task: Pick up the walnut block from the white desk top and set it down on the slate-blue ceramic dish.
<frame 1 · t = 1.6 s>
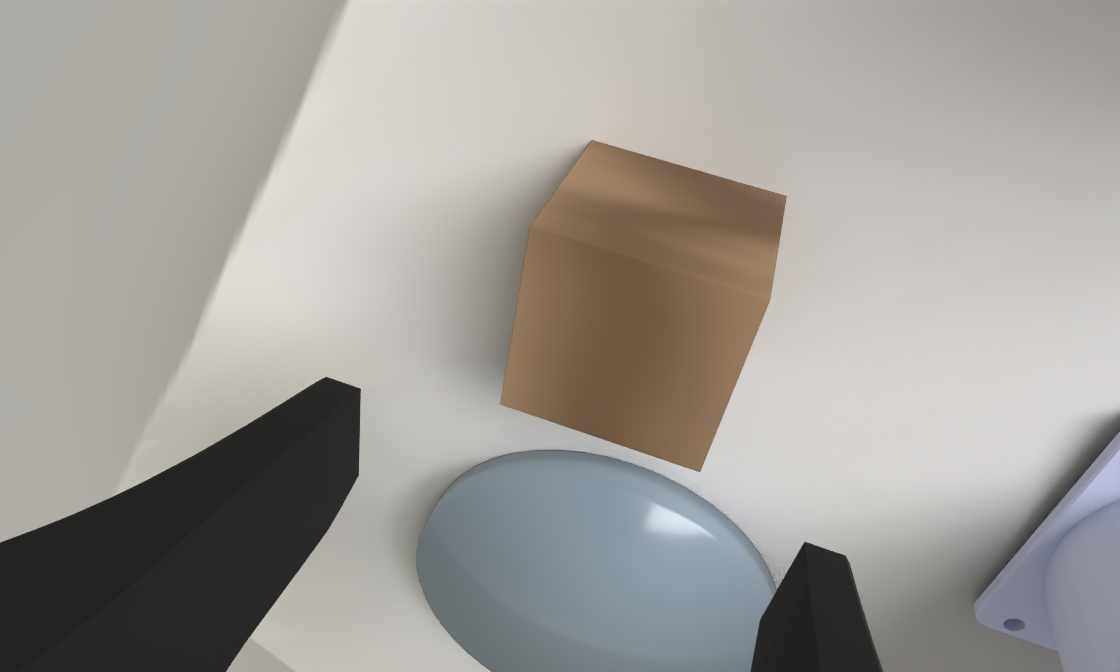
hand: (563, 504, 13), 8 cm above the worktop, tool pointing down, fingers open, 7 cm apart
slate dish: (595, 585, 27), on the worktop
walnut block: (663, 250, 19), on the worktop
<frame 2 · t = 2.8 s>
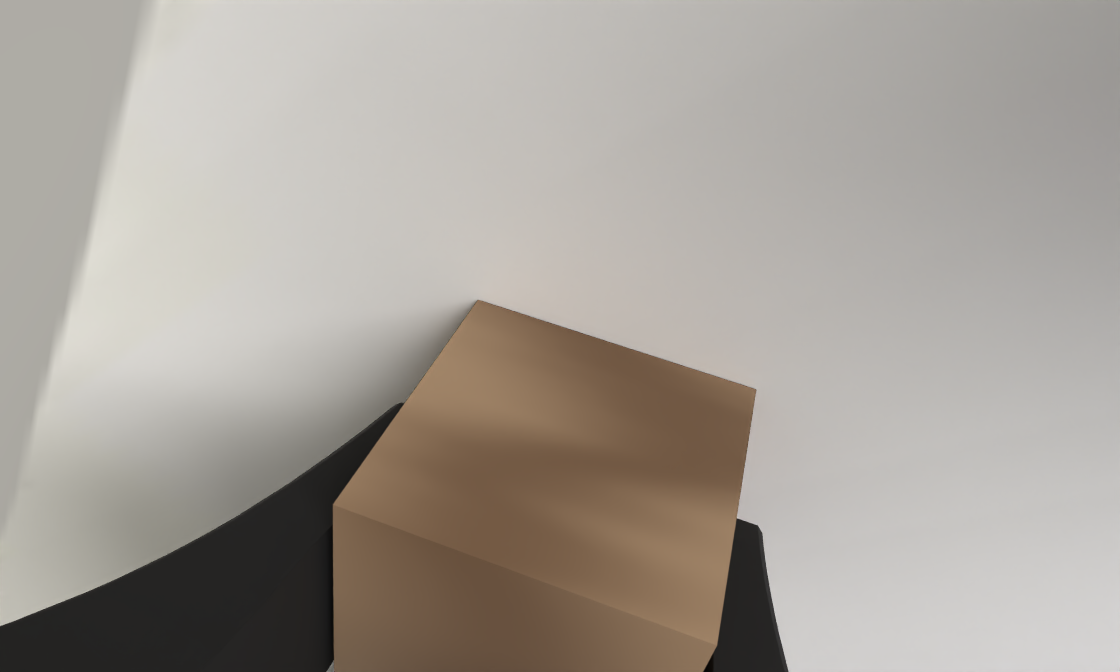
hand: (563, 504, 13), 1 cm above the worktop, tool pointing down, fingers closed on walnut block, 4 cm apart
walnut block: (586, 444, 14), on the worktop, touching gripper
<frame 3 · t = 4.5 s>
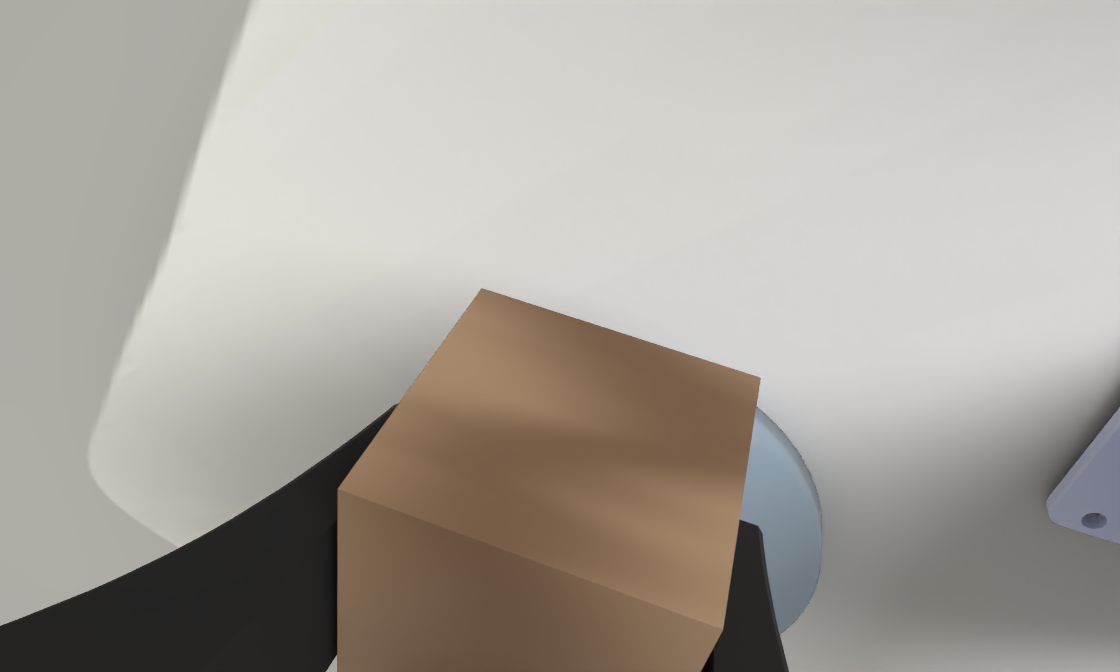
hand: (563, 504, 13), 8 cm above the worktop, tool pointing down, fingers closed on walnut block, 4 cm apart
slate dish: (615, 505, 24), on the worktop
walnut block: (589, 434, 14), point 7 cm above the worktop, touching gripper
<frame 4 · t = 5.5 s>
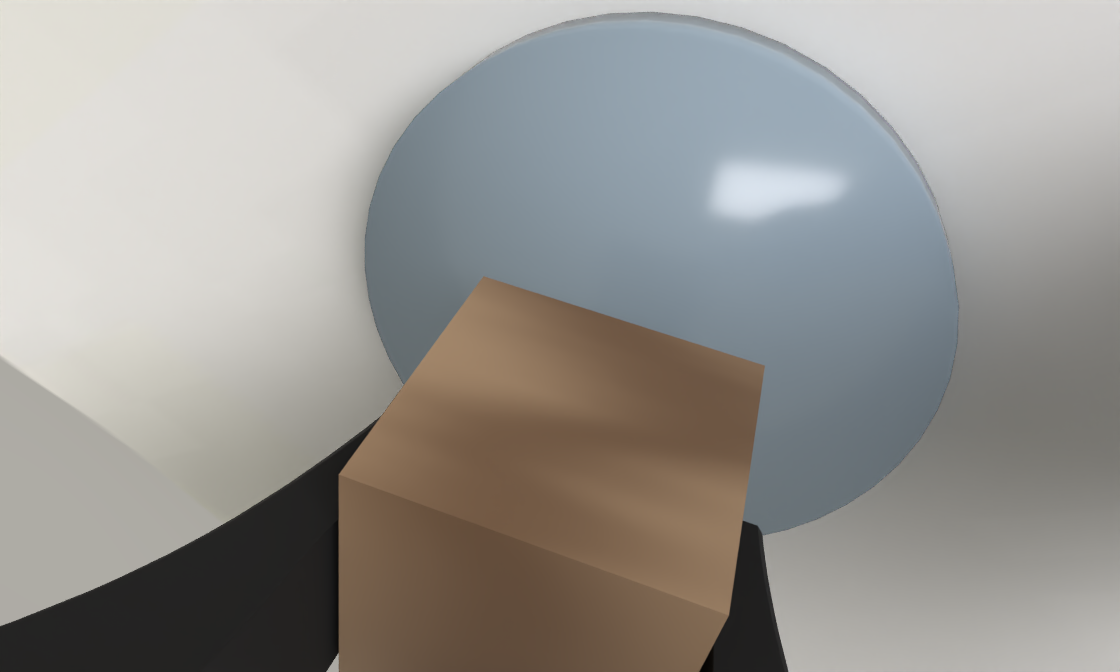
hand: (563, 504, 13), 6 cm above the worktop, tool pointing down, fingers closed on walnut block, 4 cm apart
slate dish: (644, 304, 17), on the worktop
walnut block: (592, 424, 14), point 4 cm above the worktop, touching gripper
when the fingers open (4 cm above the worktop, at t = 6.3 s): walnut block drops 1 cm, resting on slate dish.
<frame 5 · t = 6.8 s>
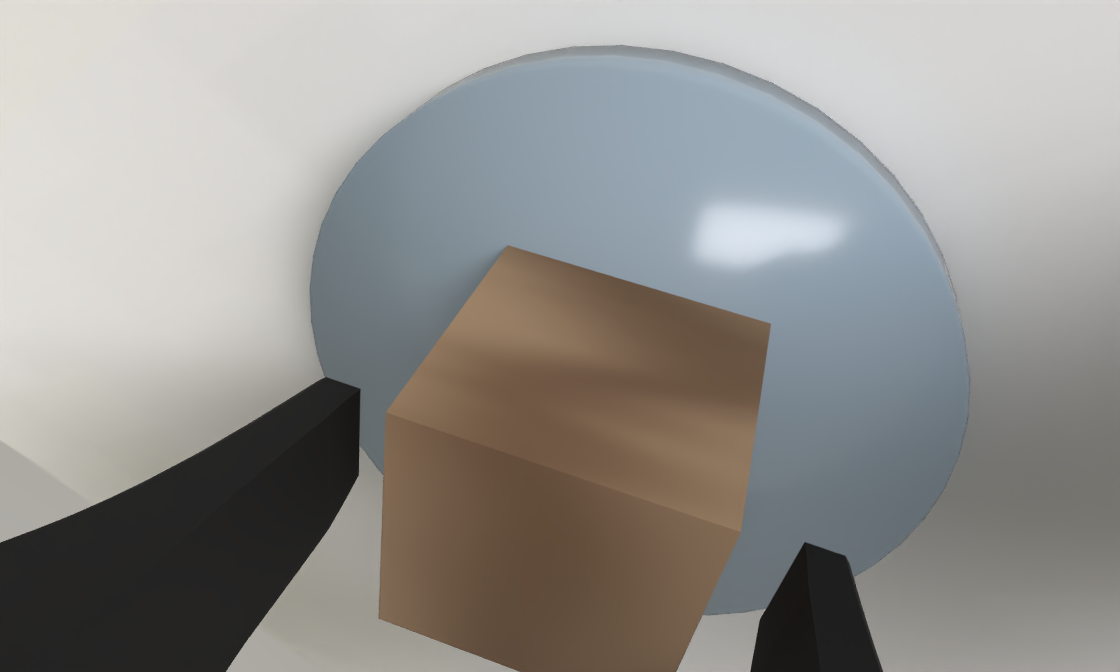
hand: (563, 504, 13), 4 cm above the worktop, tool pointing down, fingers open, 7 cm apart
slate dish: (619, 361, 16), on the worktop
walnut block: (609, 385, 14), point 1 cm above the worktop, touching slate dish
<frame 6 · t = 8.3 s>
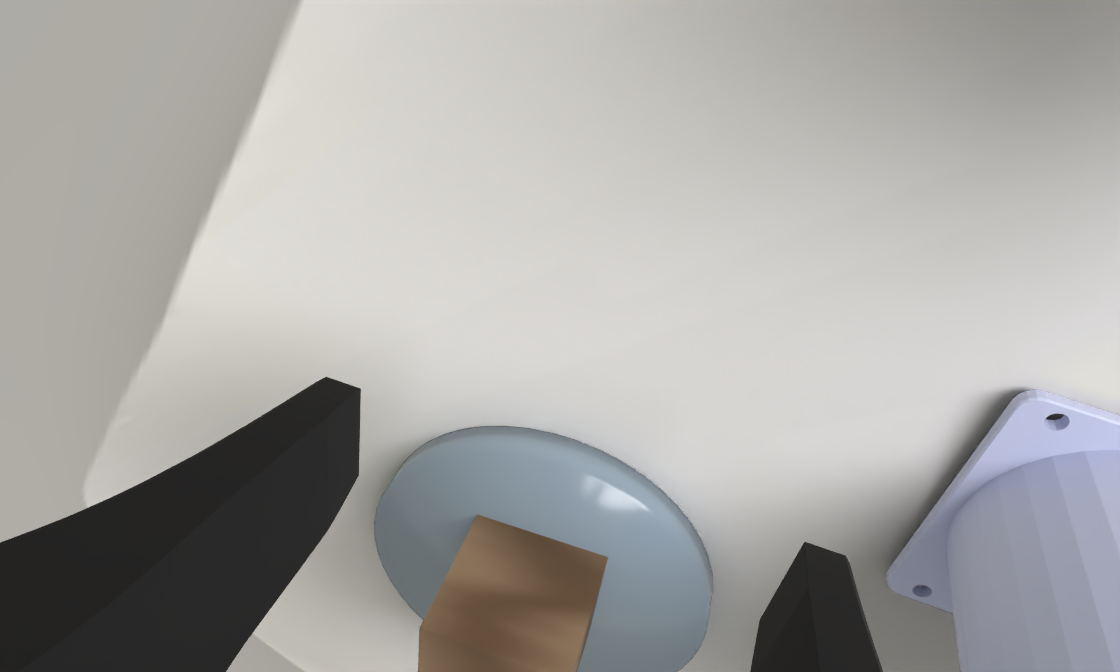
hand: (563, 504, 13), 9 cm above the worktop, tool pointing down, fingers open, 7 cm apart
slate dish: (543, 556, 28), on the worktop
walnut block: (534, 577, 27), point 1 cm above the worktop, touching slate dish
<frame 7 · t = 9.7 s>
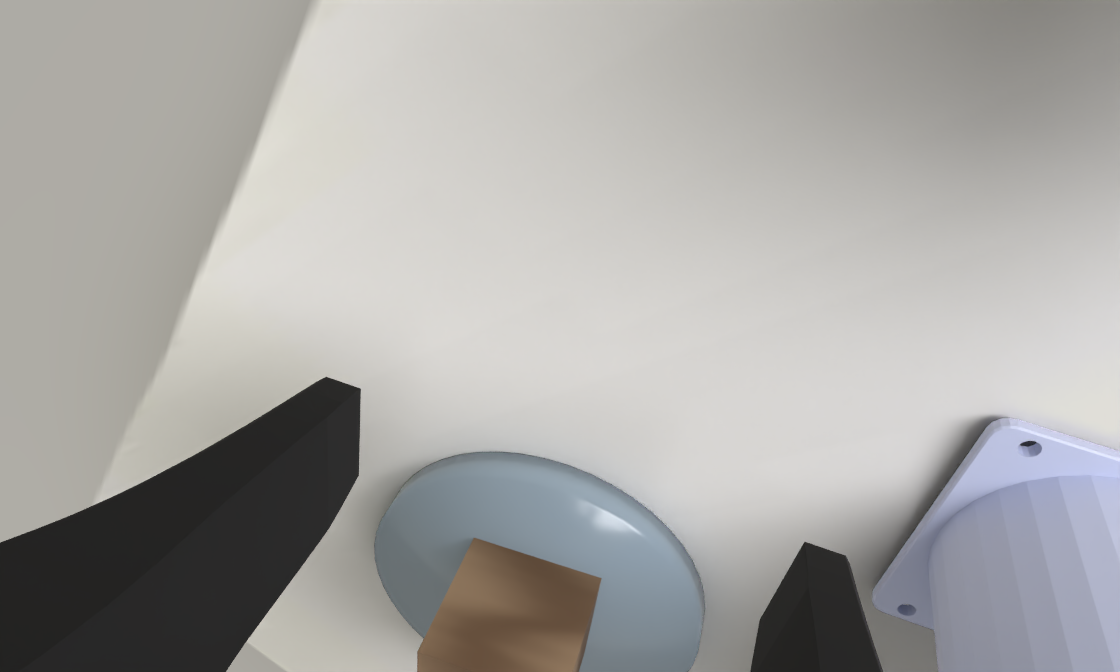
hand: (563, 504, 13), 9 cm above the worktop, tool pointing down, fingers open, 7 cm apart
slate dish: (539, 576, 29), on the worktop
walnut block: (531, 597, 28), point 1 cm above the worktop, touching slate dish
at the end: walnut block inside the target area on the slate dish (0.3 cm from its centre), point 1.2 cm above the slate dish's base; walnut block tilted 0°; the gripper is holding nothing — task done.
